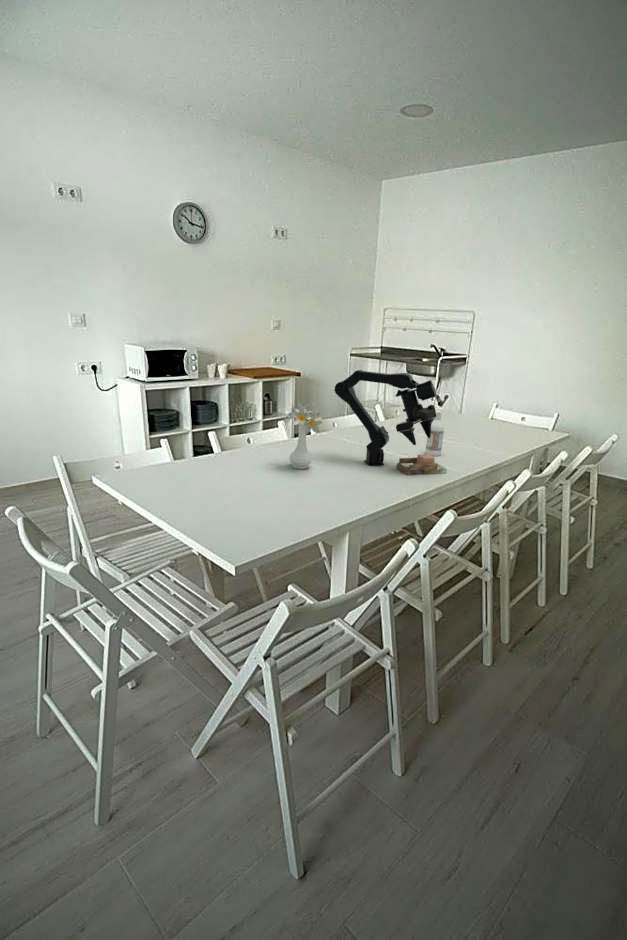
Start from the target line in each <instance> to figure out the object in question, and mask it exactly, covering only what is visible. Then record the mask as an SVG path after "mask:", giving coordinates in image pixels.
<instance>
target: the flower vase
mask: <svg viewBox="0 0 627 940" xmlns="http://www.w3.org/2000/svg"><path fill="white" fill-rule="evenodd" d="M296 405H297V408H296ZM296 405H292V406H291V409H290V410H291V411H290V412H289V413H288V414H287V415H286V417H288V418H287V420H286V421H285V422H286V423H287V422H289V421H290V420H291V419H293V418H295V419H294V421H293V425H294V426H297V425H298V438H297V444H296V447H295V449H294V450H293V451H292V452H291V453H290V455H289V458H288V460H289V462H290V463H291V464H292V467H293V468H294V469H299V470H304V469H308V468H309V465H311V463H312V462H313V456H312V454H311V453H310V451H309V450H308V447H307V435H308V434H309V433H310V432H311V431H313V432H314V433H316V434H317V433H319V429H318V426H319V427H322V425H321V424H323V421H322V419H323V417H322V415H320V414H321V413H320V411H318V408H317V407H316V405H314V406H313V409H312V410H309V409H310V407H311V405H310V404H306V405H304V406H303V405H302V403H301V402H297V403H296Z"/></svg>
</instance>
